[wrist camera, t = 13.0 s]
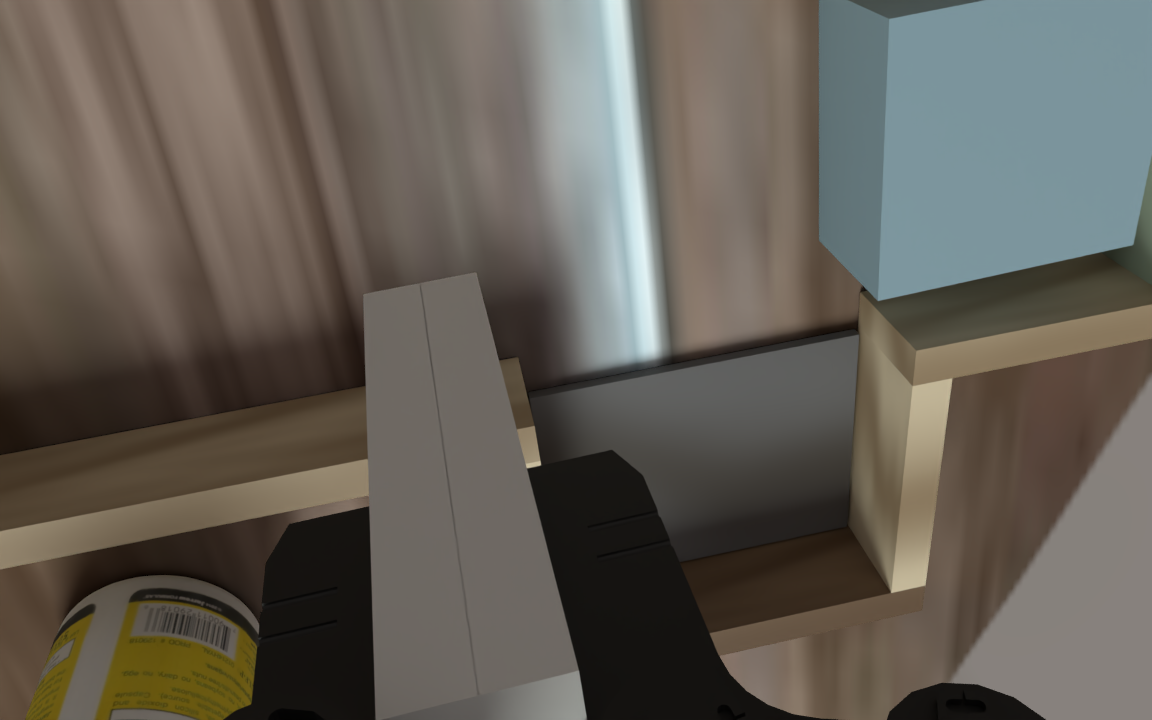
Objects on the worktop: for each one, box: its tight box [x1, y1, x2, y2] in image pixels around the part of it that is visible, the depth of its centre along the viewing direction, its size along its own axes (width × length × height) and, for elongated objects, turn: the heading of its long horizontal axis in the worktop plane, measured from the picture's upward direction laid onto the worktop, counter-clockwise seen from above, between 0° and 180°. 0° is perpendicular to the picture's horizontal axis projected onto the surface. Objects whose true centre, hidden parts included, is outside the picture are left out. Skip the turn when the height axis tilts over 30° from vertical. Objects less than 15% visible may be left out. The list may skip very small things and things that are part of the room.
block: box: [819, 0, 1152, 301], centre depth 20 cm, size 6×6×4 cm
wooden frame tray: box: [0, 156, 1152, 656], centre depth 19 cm, size 28×40×3 cm
